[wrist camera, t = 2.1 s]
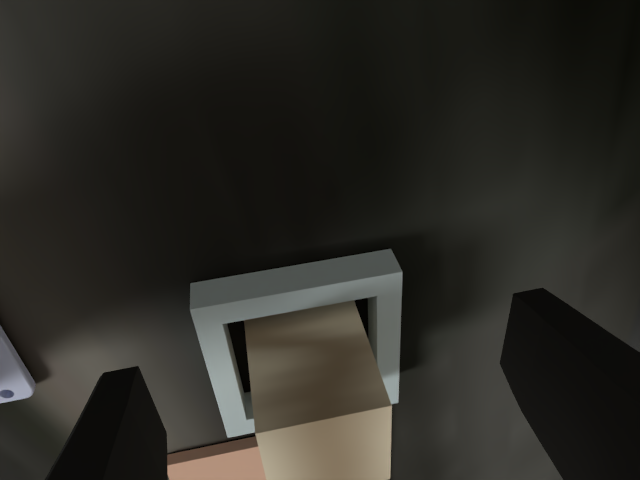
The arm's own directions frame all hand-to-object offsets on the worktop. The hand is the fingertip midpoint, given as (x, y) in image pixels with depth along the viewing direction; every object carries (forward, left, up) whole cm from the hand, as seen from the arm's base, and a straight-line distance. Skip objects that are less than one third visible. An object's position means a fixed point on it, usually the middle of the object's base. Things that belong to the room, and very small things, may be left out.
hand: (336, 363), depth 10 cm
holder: (0, -9, -9) cm, 13 cm away
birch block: (0, -9, -10) cm, 13 cm away
